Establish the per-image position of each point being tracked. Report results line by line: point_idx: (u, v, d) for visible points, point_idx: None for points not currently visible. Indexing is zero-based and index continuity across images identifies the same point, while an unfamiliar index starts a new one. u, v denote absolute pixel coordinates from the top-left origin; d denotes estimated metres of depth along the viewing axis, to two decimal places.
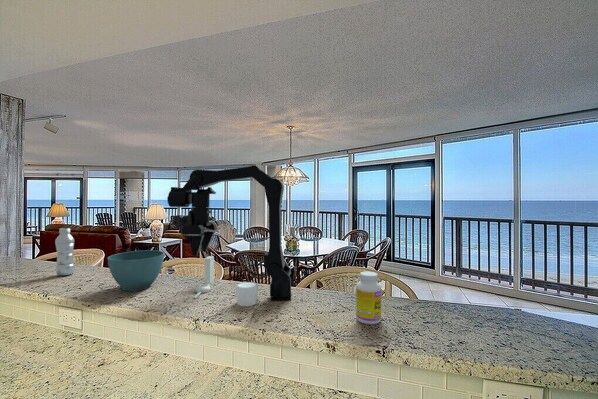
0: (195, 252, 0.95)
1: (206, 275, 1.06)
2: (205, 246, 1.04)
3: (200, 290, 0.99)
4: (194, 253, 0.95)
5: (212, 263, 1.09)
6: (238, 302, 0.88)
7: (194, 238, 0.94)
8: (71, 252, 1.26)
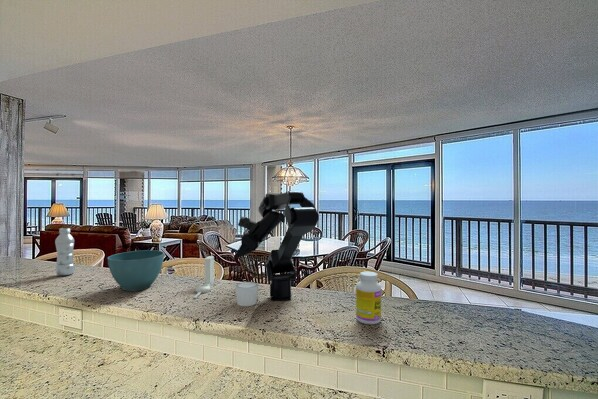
0: (237, 256, 1.03)
1: (206, 275, 1.06)
2: None
3: (200, 290, 0.99)
4: (236, 255, 1.03)
5: (212, 263, 1.09)
6: (238, 302, 0.88)
7: (246, 246, 1.02)
8: (71, 252, 1.26)
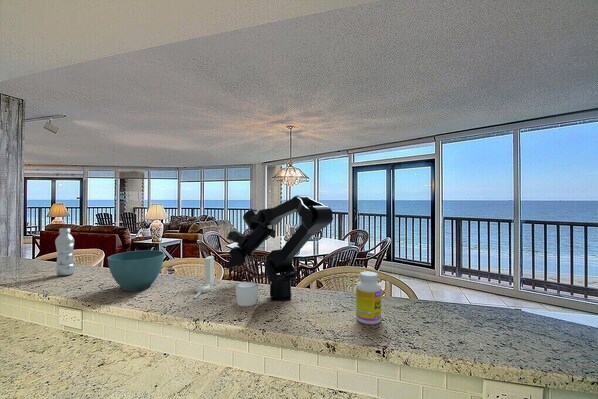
0: (228, 266, 1.07)
1: (206, 275, 1.06)
2: None
3: (200, 290, 0.99)
4: (227, 266, 1.07)
5: (212, 263, 1.09)
6: (238, 302, 0.88)
7: None
8: (71, 252, 1.26)
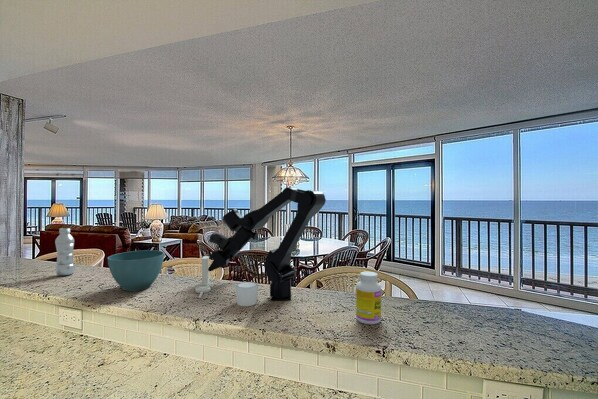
0: (210, 269, 1.07)
1: (203, 275, 1.06)
2: None
3: (201, 290, 0.99)
4: (209, 269, 1.07)
5: (208, 263, 1.09)
6: (238, 302, 0.88)
7: None
8: (71, 252, 1.26)
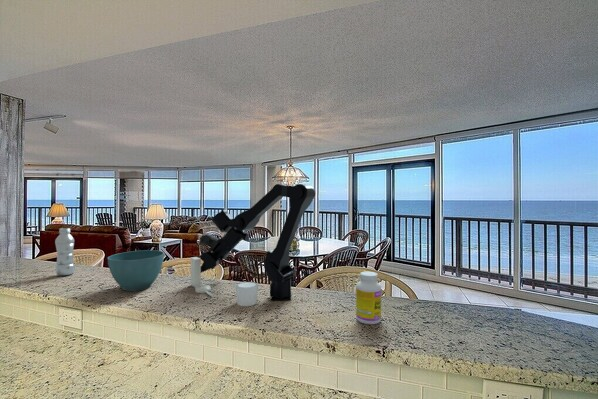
0: (201, 270, 1.07)
1: (197, 276, 1.05)
2: None
3: (205, 290, 0.99)
4: None
5: None
6: (238, 302, 0.88)
7: None
8: (71, 252, 1.26)
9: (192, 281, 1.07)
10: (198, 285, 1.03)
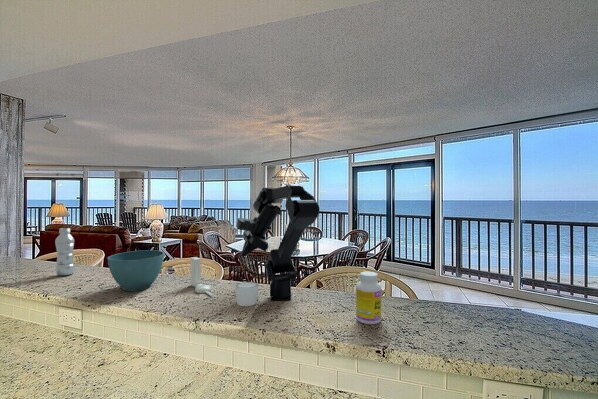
0: (244, 254, 1.08)
1: (197, 276, 1.05)
2: None
3: (205, 290, 0.99)
4: (243, 254, 1.08)
5: None
6: (238, 302, 0.88)
7: (251, 244, 1.07)
8: (71, 252, 1.26)
9: (192, 281, 1.07)
10: (198, 285, 1.03)
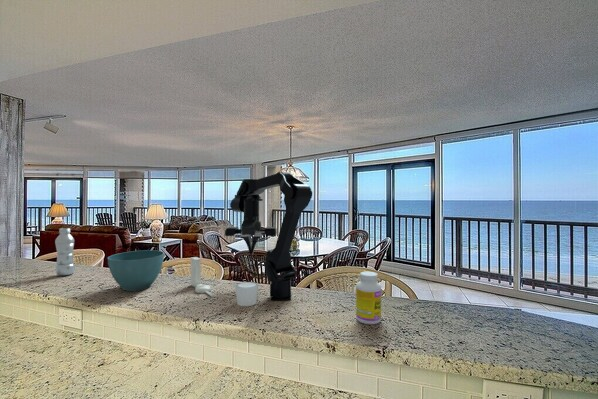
0: (253, 251, 1.11)
1: (197, 276, 1.05)
2: None
3: (205, 290, 0.99)
4: None
5: None
6: (238, 302, 0.88)
7: None
8: (71, 252, 1.26)
9: (192, 281, 1.07)
10: (198, 285, 1.03)
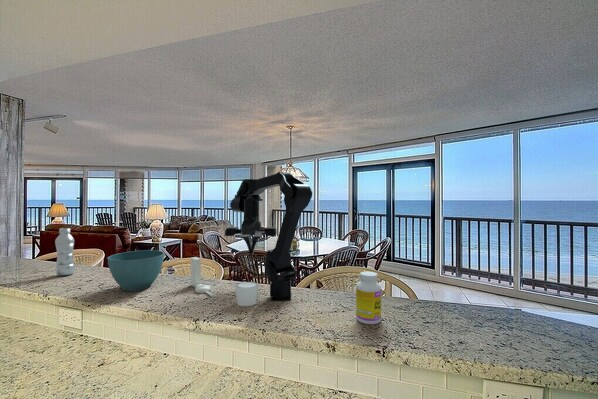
0: (253, 251, 1.11)
1: (197, 276, 1.05)
2: None
3: (205, 290, 0.99)
4: None
5: None
6: (238, 302, 0.88)
7: None
8: (71, 252, 1.26)
9: (192, 281, 1.07)
10: (198, 285, 1.03)
